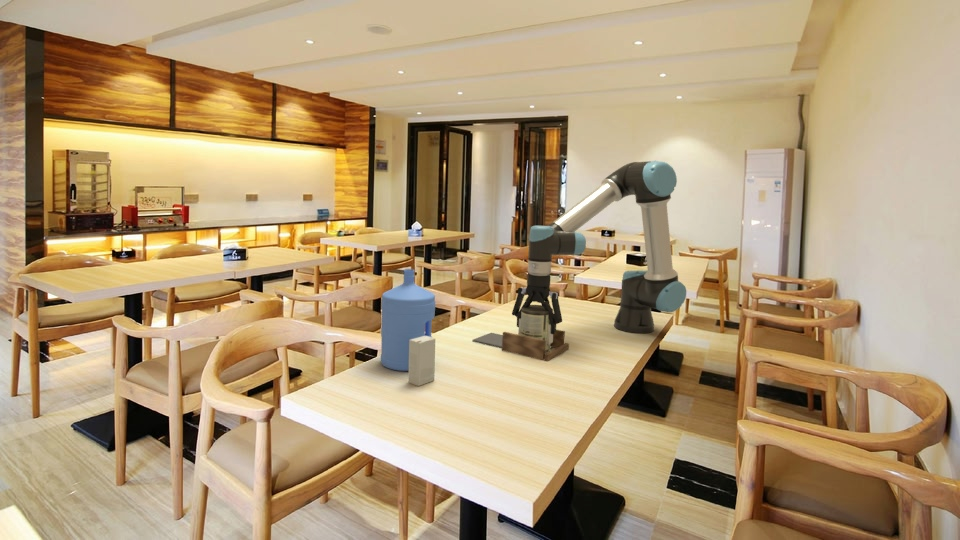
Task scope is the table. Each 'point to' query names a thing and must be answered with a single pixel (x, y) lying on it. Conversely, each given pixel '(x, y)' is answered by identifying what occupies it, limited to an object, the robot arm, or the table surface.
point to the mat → (490, 340)
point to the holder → (534, 345)
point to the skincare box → (421, 360)
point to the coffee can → (535, 323)
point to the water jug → (404, 320)
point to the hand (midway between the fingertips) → (535, 340)
